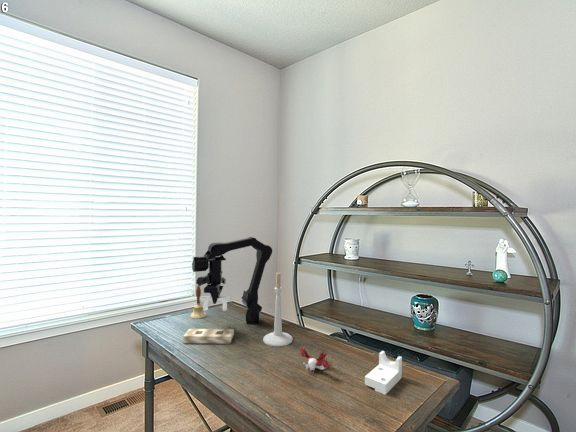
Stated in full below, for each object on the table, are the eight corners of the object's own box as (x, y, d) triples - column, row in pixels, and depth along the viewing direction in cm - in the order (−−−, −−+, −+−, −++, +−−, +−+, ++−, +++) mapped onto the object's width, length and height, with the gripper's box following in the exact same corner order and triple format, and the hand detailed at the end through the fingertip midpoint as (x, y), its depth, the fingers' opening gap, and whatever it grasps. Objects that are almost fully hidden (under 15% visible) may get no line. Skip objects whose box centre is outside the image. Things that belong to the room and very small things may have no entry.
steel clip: (230, 309, 153) (230, 296, 153) (229, 310, 151) (229, 297, 150) (201, 308, 153) (201, 296, 153) (199, 310, 151) (199, 297, 150)
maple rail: (233, 335, 144) (233, 329, 144) (230, 343, 136) (230, 336, 136) (189, 335, 144) (189, 328, 144) (183, 343, 136) (183, 336, 136)
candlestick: (259, 344, 135) (259, 274, 134) (268, 332, 148) (268, 268, 147) (288, 348, 132) (289, 275, 131) (295, 335, 145) (295, 269, 144)
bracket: (381, 371, 115) (382, 350, 115) (401, 378, 110) (401, 357, 110) (364, 387, 105) (365, 364, 105) (385, 395, 100) (385, 372, 100)
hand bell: (209, 315, 171) (209, 285, 170) (197, 319, 164) (197, 288, 163) (198, 312, 175) (198, 283, 174) (186, 316, 168) (186, 286, 167)
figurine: (343, 371, 115) (343, 352, 114) (321, 383, 107) (322, 363, 106) (312, 356, 126) (313, 339, 125) (291, 366, 118) (291, 348, 117)
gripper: (203, 266, 160) (203, 296, 161) (192, 274, 142) (192, 309, 142) (225, 266, 160) (225, 297, 161) (217, 274, 142) (217, 309, 142)
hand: (215, 302), depth 152 cm, fingers closed on steel clip, 2 cm apart
